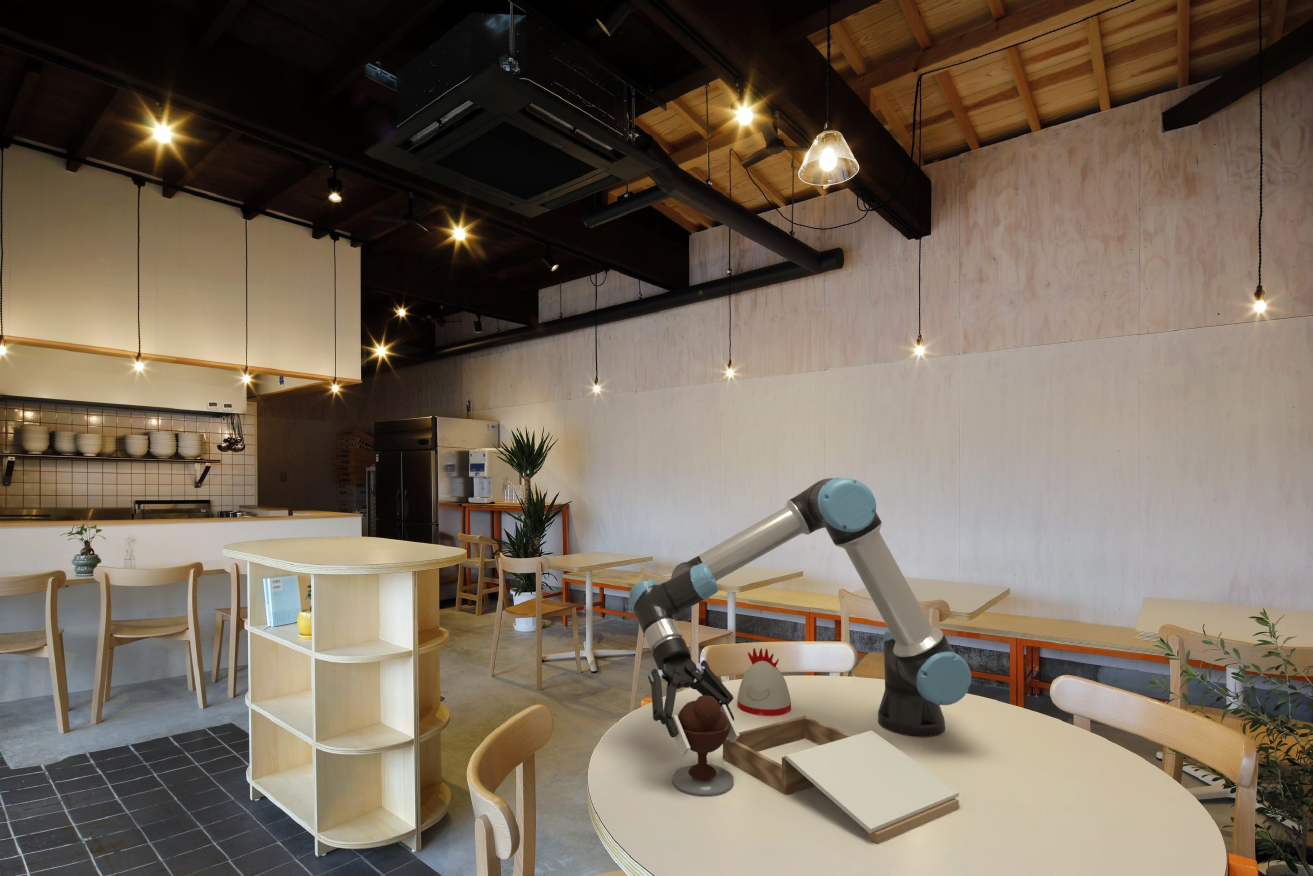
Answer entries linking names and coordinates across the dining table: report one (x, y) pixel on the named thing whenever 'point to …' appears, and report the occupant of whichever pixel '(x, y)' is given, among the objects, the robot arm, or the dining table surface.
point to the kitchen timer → (763, 688)
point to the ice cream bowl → (704, 732)
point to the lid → (876, 784)
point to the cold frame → (775, 735)
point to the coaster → (702, 782)
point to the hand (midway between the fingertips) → (711, 745)
